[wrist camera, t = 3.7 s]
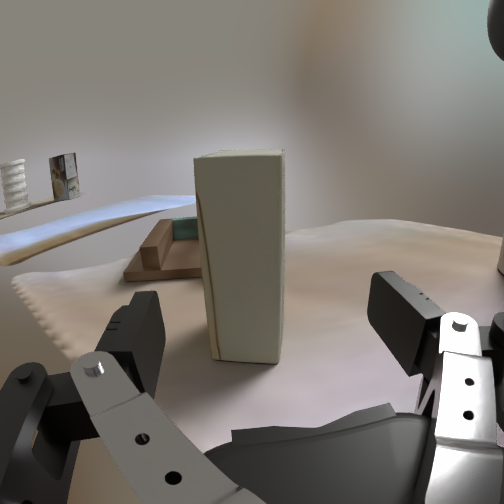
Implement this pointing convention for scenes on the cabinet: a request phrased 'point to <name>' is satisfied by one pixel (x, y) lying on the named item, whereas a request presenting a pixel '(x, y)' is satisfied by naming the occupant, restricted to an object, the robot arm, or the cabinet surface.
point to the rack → (168, 252)
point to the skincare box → (242, 251)
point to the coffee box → (64, 177)
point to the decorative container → (14, 186)
